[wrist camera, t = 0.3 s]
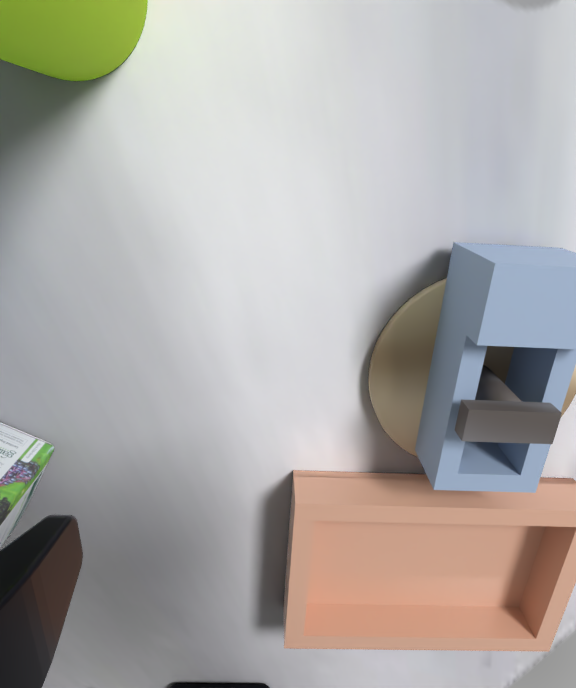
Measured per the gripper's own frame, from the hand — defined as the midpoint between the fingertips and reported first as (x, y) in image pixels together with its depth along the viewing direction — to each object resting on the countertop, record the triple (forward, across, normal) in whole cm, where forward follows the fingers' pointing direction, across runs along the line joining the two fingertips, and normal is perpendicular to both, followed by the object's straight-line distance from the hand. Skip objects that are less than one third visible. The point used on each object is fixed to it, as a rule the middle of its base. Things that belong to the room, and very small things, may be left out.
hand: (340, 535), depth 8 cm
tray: (+14, -7, +14) cm, 21 cm away
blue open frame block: (+13, -8, +2) cm, 16 cm away
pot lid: (+14, -8, +4) cm, 17 cm away
